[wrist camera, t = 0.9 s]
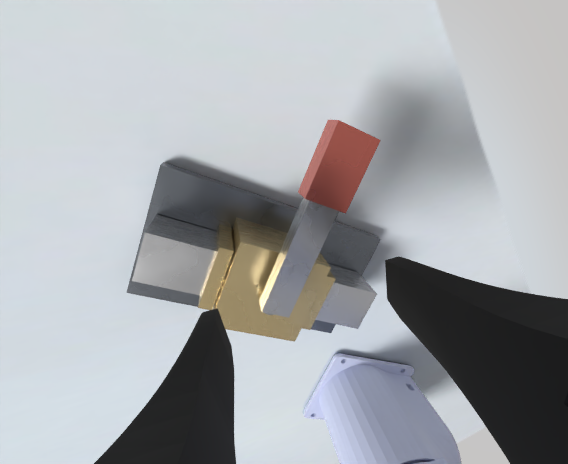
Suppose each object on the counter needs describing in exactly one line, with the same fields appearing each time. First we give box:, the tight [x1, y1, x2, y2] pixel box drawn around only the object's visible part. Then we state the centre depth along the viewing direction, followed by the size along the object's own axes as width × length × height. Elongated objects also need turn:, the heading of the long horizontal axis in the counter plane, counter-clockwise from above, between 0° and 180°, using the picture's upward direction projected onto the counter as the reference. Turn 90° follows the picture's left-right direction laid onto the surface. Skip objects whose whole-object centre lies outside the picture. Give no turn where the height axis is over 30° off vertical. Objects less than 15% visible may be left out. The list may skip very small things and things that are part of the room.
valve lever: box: [259, 120, 380, 318], centre depth 15 cm, size 11×2×2 cm, turn 158°
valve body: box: [127, 162, 380, 341], centre depth 19 cm, size 16×9×5 cm, turn 68°
